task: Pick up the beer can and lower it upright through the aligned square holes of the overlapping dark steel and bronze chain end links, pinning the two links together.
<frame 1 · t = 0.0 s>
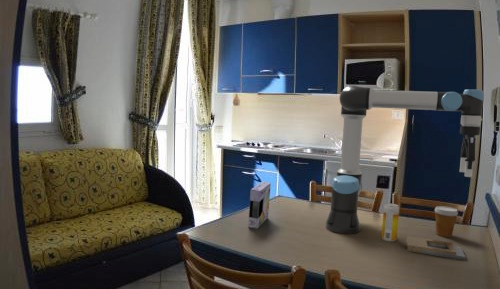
hand: (465, 174, 170), 28 cm above the table, fingers open, 13 cm apart
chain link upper: (430, 246, 154), in the chain link lower
disposable coffee cup: (443, 235, 174), on the table
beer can: (388, 240, 165), on the table
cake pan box: (258, 223, 180), on the table
chain link lower: (436, 250, 154), on the table
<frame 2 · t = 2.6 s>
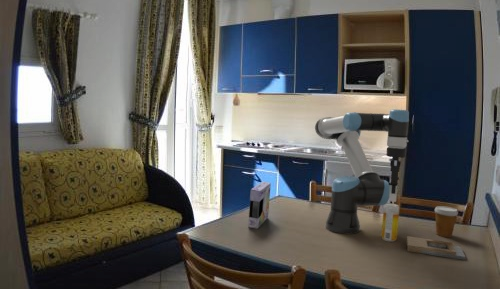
hand: (392, 197, 163), 18 cm above the table, fingers open, 13 cm apart
nothing on the table moved.
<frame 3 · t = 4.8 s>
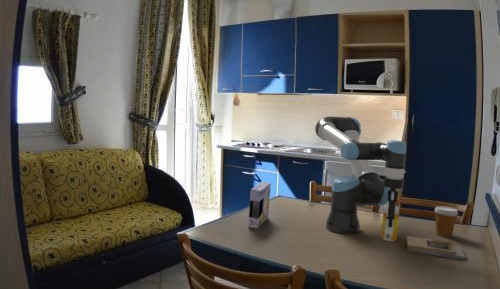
hand: (389, 231, 164), 3 cm above the table, fingers closed on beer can, 6 cm apart
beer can: (388, 240, 165), on the table, touching gripper
everything else where it was.
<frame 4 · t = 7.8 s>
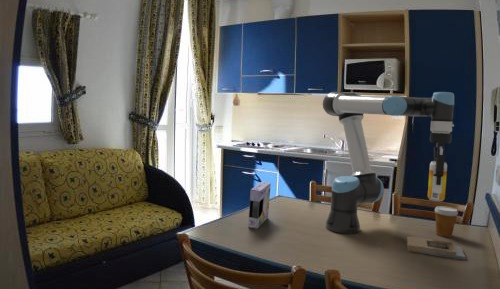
hand: (436, 191, 152), 24 cm above the table, fingers closed on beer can, 6 cm apart
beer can: (435, 200, 153), point 20 cm above the table, touching gripper
everything else where it was.
when the fingers open (4 cm above the table, at t = 11.1 s): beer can stays where it is, resting in chain link lower.
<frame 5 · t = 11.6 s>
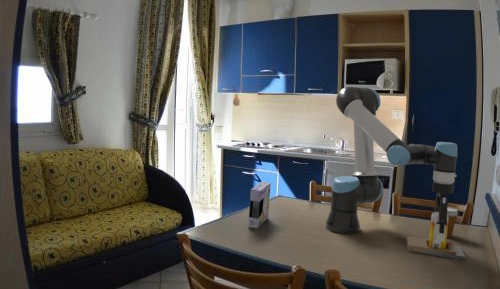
hand: (438, 235, 153), 6 cm above the table, fingers open, 13 cm apart
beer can: (436, 251, 154), resting in chain link lower
everything else where it was.
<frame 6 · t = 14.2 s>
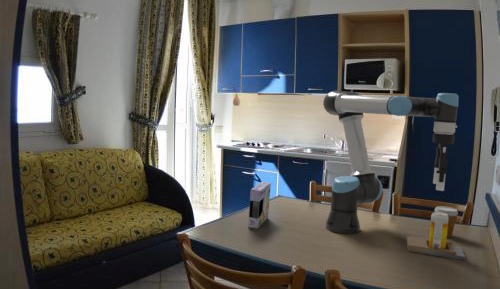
hand: (438, 187, 153), 25 cm above the table, fingers open, 13 cm apart
nothing on the table moved.
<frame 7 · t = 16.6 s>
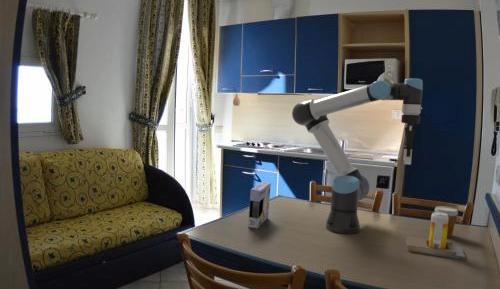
hand: (406, 162, 173), 32 cm above the table, fingers open, 13 cm apart
nothing on the table moved.
at the end: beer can 0.1 cm off-centre on the chain link lower, point 0.0 cm above the chain link lower's base; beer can tilted 0°; the gripper is holding nothing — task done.
